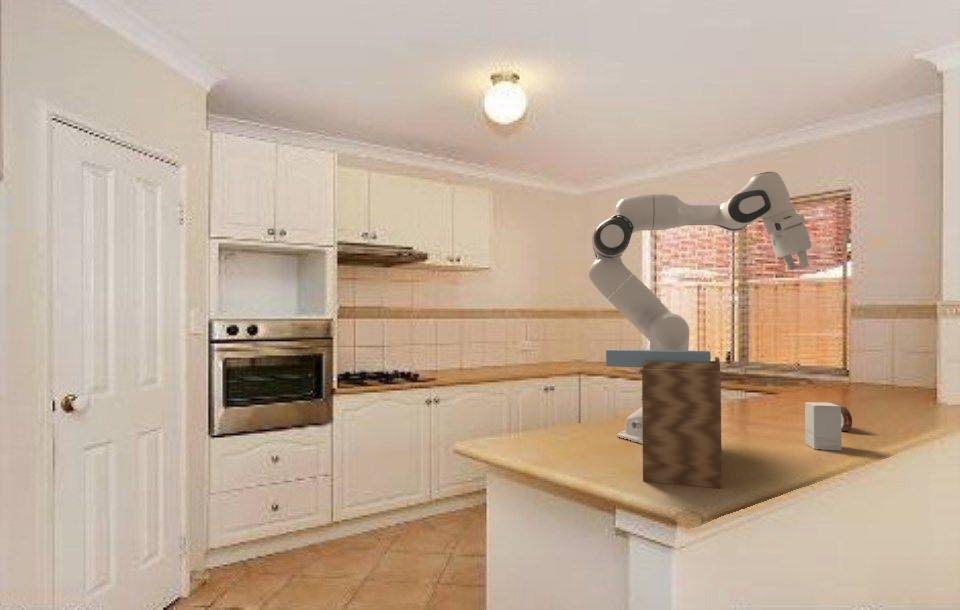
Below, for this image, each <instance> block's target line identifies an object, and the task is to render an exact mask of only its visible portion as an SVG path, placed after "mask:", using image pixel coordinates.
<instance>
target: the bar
mask: <svg viewBox="0 0 960 610" xmlns="http://www.w3.org/2000/svg"><path fill="white" fill-rule="evenodd" d="M605 356H606V357H605V362H606V363H605V367H611V368H612V367H614V368H615V367H618V368H643V362H644V361H646V362H684V363H711V361H712V360H711V351H710V350H688V351H676V350H650V349H622V348H620V349H614V348H613V349H611V348H608V349H606V350H605Z"/></svg>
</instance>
